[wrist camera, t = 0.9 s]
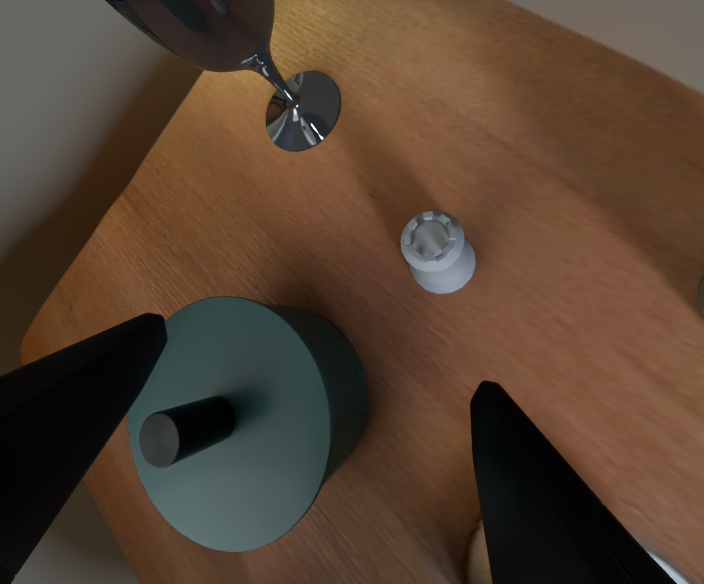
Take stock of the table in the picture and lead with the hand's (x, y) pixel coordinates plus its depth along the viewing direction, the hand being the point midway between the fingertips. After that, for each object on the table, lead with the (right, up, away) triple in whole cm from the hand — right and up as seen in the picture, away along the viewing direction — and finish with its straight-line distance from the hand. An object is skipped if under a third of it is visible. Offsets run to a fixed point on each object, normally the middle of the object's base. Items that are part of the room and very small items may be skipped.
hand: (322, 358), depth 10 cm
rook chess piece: (+7, +4, +15) cm, 17 cm away
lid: (-7, -6, +11) cm, 14 cm away
